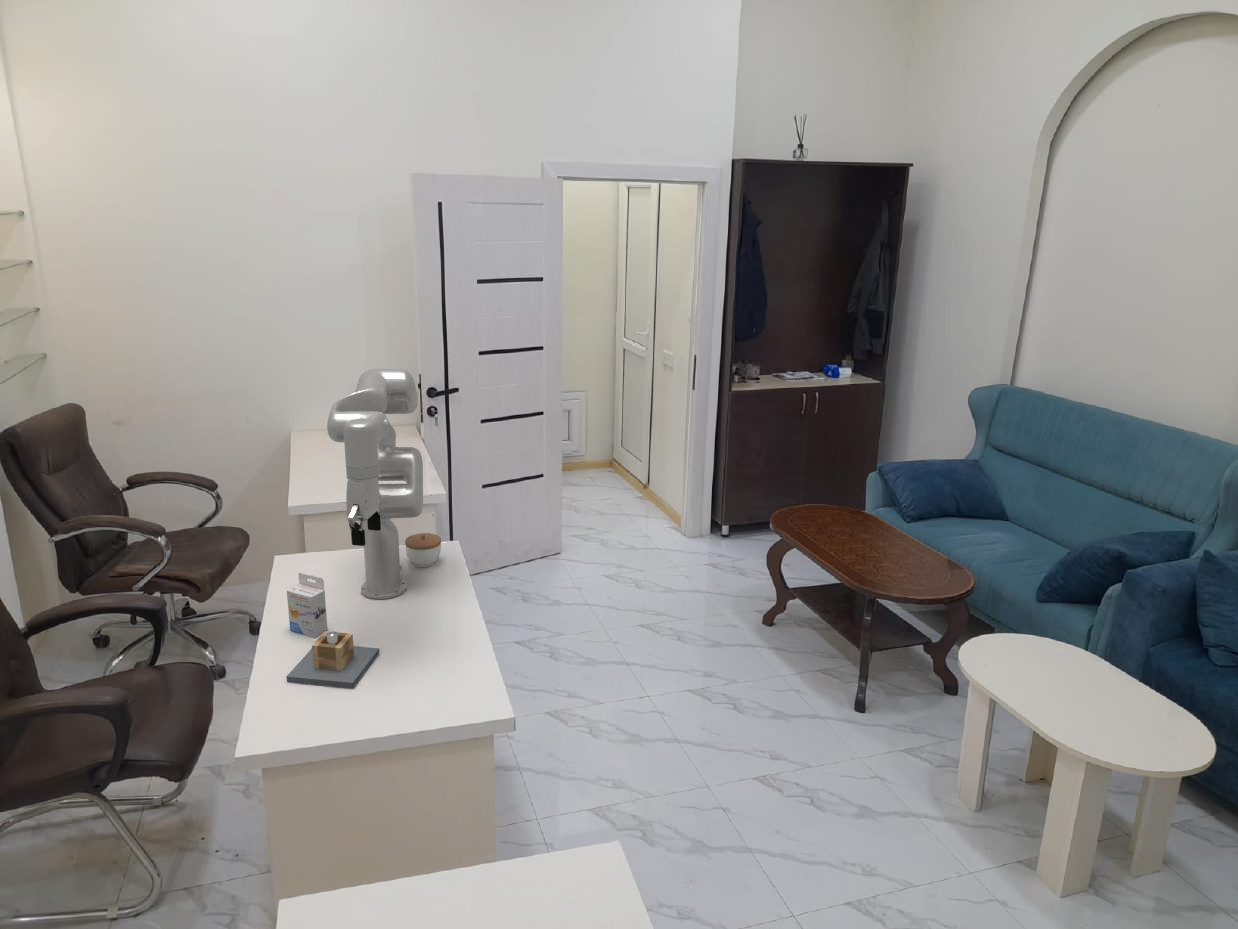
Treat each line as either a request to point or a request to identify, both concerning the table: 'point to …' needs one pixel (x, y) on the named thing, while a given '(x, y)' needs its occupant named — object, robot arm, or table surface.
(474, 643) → the table surface
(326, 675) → the slate board
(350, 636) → the oak frame
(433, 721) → the table surface
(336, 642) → the metal post
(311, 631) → the ink box
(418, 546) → the lidded jar
